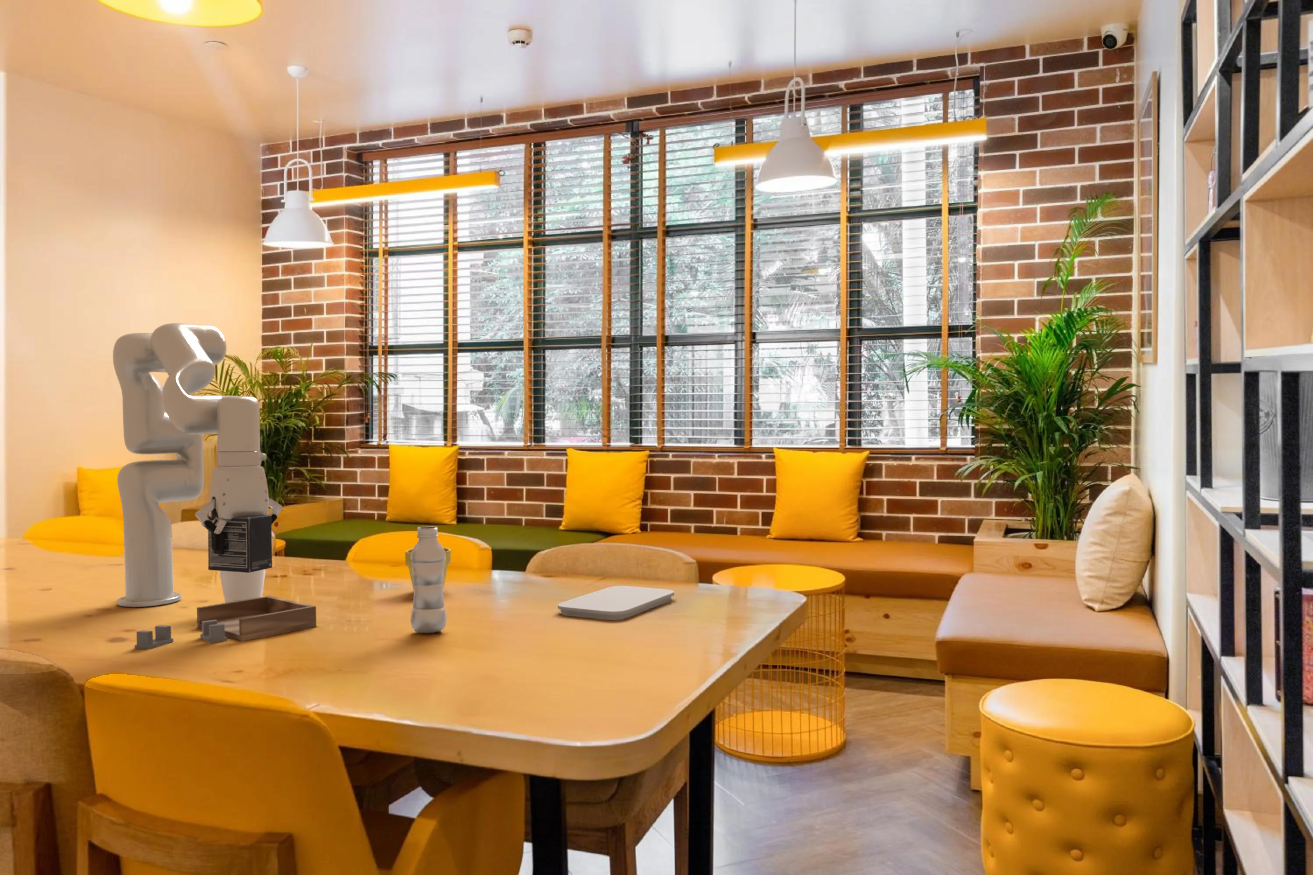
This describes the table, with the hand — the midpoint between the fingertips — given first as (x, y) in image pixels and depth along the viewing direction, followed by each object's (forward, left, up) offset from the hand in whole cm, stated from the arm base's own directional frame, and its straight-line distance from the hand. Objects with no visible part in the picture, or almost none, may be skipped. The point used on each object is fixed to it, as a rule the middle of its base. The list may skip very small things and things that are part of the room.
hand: (240, 550), depth 189 cm
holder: (-1, +3, -15) cm, 16 cm away
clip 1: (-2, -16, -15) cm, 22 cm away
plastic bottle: (+30, +21, -16) cm, 40 cm away
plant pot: (-5, +47, -16) cm, 50 cm away
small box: (0, 0, -4) cm, 4 cm away
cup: (-18, +9, -16) cm, 25 cm away
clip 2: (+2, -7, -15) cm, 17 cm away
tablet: (+42, +61, -16) cm, 76 cm away
